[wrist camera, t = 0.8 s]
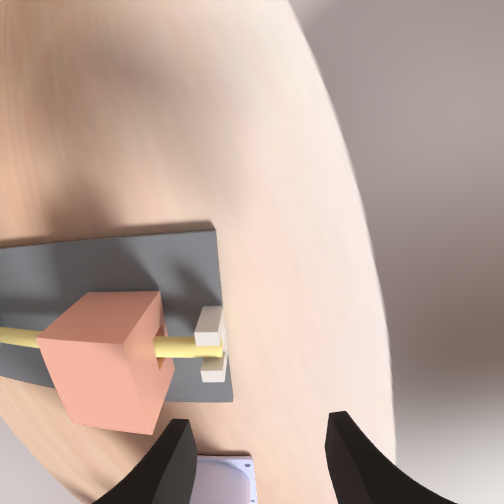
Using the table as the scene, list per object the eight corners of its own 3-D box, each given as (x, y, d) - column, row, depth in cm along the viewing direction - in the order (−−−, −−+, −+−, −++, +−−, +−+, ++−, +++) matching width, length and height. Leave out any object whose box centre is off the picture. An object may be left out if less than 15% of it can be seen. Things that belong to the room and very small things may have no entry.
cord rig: (234, 396, 21) (231, 440, 17) (-11, 368, 21) (-34, 391, 17) (217, 229, 18) (206, 248, 14) (-48, 253, 18) (-80, 267, 14)
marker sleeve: (175, 369, 19) (152, 435, 13) (108, 366, 19) (72, 422, 13) (160, 290, 18) (122, 344, 12) (87, 292, 18) (35, 337, 12)
